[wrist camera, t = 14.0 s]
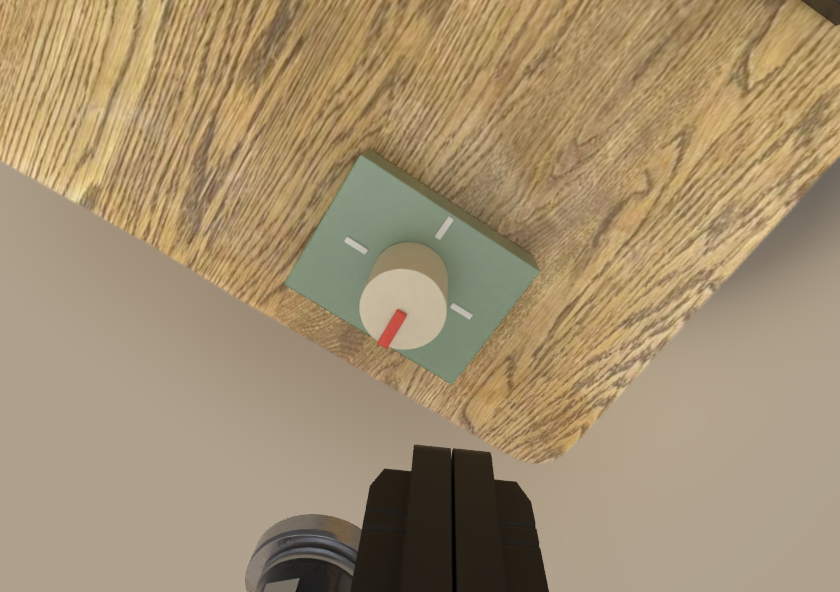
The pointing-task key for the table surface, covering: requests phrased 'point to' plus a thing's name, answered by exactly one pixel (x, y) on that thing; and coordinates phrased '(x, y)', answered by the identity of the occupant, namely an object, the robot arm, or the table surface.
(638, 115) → the table surface
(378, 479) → the robot arm
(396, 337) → the dial knob
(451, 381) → the dial panel
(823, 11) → the button box
